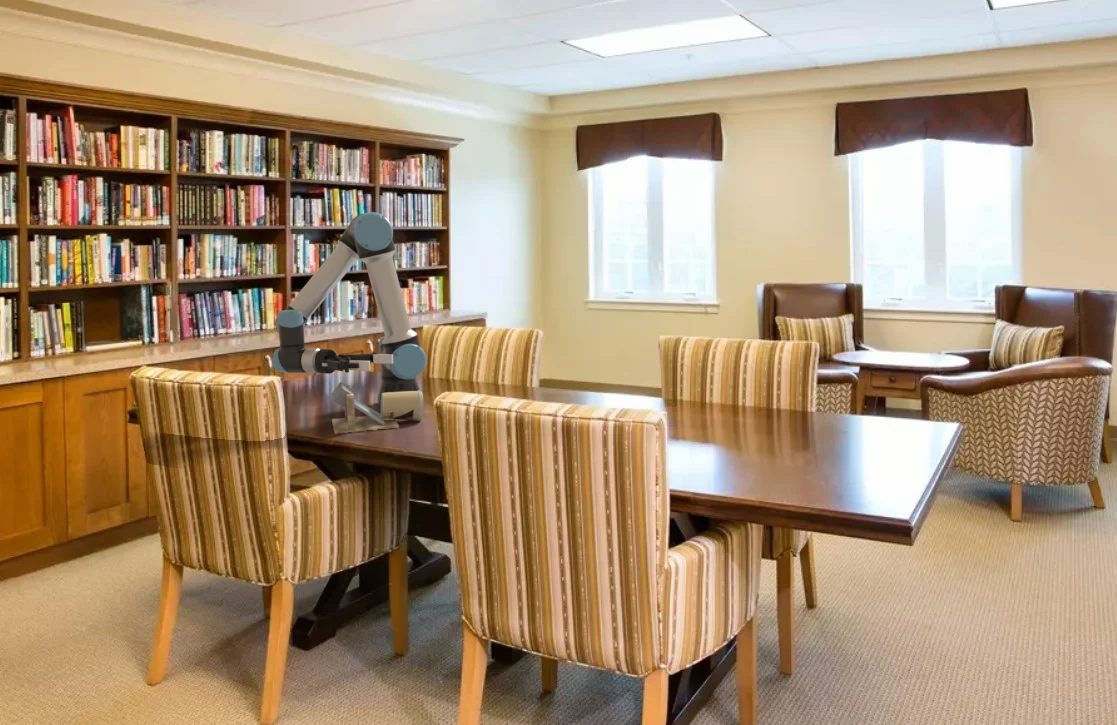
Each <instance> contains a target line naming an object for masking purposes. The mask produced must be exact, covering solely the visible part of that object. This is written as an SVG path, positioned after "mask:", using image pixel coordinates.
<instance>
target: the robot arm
mask: <svg viewBox="0 0 1117 725" xmlns="http://www.w3.org/2000/svg"><path fill="white" fill-rule="evenodd" d="M393 234H394V230H393V226H392V223H391V222H390V220H389V219H388V218H387V217H386V216H384V215H383V214H381V213H379V212H374V211H368V212H364V213H360V214H358V215H356V216H355V217H353V218H352V219H351V221H350V222H349V224H348V226H347V228H346V229H345V230H344V232H343V233H342V234H341V236H340V238H338V240H337V246H336V247H335V248H334V249H333V251H332V252H331V254H329V256H328V257H327V258H326V259H325V261H323V262H322V264H321V266H320V267H319V268H318V269H317V271H315V273H314V274H313V275H312V276H311V277H310V279H309V280H308V281H307V283H306V284H305V285H304V286H303V287H302V288H301V290H300V291H299V292H298V294H297V295H296V296H295V297H294V298H293V299H292V301H291V302H290V303H289V304H288V306H287V307H286V308H285V309H284V310H280V311H278V312H277V318H276V319H275V321H274V327H275V330H276V332H277V333H278V337H279V348H278V349H276V350H274V352H273V354H272V356H273V357H272V358H271V359H272V365H273V366H272V367H273V368H274V369H275V370H276V371H277V372H280V373H288V374H311V375H312V376H315V375H316V374H325V375H326V374H329V375H330V374H333V373H334V372H335V371H339V372H343V371H344V373H349V372H350V371H371V364H372V363H373V364H380V375H381V376H380V377H381V383H380V387H379V391H378V393H377V398H376V400H377V405H378V406H380V407H381V394H382V393H388V392H405V391H418V390H419V391H421V388H420V386H419V383H418V381H417V377H420V375H422V373H423V372H424V371H425V369H426V366H427V360H428V359H427V355H426V353H425V350H424V349H423V348H422V347H421V342H420V338H419V336H418V333H417V332H416V331H415V330H413V329H412V328H411V322H410V319H409V316H408V313H407V307H406V304H405V300H404V297H403V292H402V288H401V286H400V281H399V278H398V272H397V271H396V266H395V262H394V258H393V257H394V254H395V252H396V248H395V243H394V240H393V237H394V235H393ZM357 261H362V262H363V263H364V264H365V267H366V271H367V273H368V277H369V281H370V285H371V288H372V292H373V296H374V300H375V304H376V306H377V310H378V315H379V319H380V322H381V325H382V329H383V334H384V336H382V337H380V339H379V341H378V343H379V345H378V348H379V353H377V352H375V351H372V353H357V354H348V353H347V354H343V353H341V354H338V355H337V353H336V352H335V351H334V349H331V348H306V342H305V326H304V325H306V323H307V322H308V320H309V319H310V318H311V316H312V315H313V314H314V313H315V311H316V310H317V309H318V308H319V307H320V305H321V304H322V303H323V302H324V301H325V300H326V298H327V297H328V296H329V295H330V294H331V292H332V291H333V290H334V289H335V287H336V286H337V285H338V284H339V282H340V281H341V280H342V279H343V278H344V277H345V275H346V274H347V273H348V271H349V270H350V269H351V268H352V267H353V265H354V264H355V263H356V262H357Z"/></svg>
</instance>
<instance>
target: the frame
mask: <svg viewBox="0 0 1117 725" xmlns="http://www.w3.org/2000/svg"><path fill="white" fill-rule="evenodd" d="M345 385H346V386H348V387H349V388H351V385H350V384H348V385H347V384H345ZM353 394H354V393H353ZM353 394H346V401H347V407H346V408H344V417H343V418H342V417H339V418H332V419H331V422H332V428H333V431H334V432H333V433H334V435H338V433H340V434H348V432H352V433H357V432H356V431H363V432H368V431H367V430H374V431H378V430H377V429H385V430H390V429H389V428H397V429H400V426H399V424H398V422H397V419H385V418H383V420H384V422H385V424H384V425H382V424H381V423H379V422H377V421H376V420H374V419H373V418H371V417H370V416H368V415H363V416H356V415H355V414H356V413H355V412H356V411H355V407H354V398H355V394H354V395H353Z"/></svg>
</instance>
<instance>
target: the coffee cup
mask: <svg viewBox="0 0 1117 725" xmlns="http://www.w3.org/2000/svg"><path fill="white" fill-rule="evenodd" d="M380 414H381V418H385V419H395V420H402V421H417V422H420V421H422V420H423V415H424V395H423V392H422V391H421V390H420V391H419V390H418V391H405V392H388V393H382V394H381V406H380Z"/></svg>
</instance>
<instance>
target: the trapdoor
mask: <svg viewBox="0 0 1117 725" xmlns="http://www.w3.org/2000/svg"><path fill="white" fill-rule="evenodd" d="M346 385H347V384H345V383H343V382H342V381H340V382H339V383H338V384H337V386H336V387H335V388H334V390H333V391H332V393H331V395H332V398H333V402H335V403H336V404H338V405H340V406H341V407H343V409H345V408H346V407H347V401H346V394H353V395H354V396H355V394H354V392H353V390H352V388H351V387H350V388H349V387H348V386H346ZM354 408H356V409H357V410H358V411H360V412H362V413H363V414H365V416H370V417H371V418H373V419H374V420H376V421H377V422H379V423H381V424H382V425H384V424H385V422H384V420H383V418H381V413H379V412H377V411H376V410H375V409H373V408H372V407H370V406H368V405H366V404H365V403H364V402H362V401H360V400H359V399H357V398H355V397H354Z"/></svg>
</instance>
